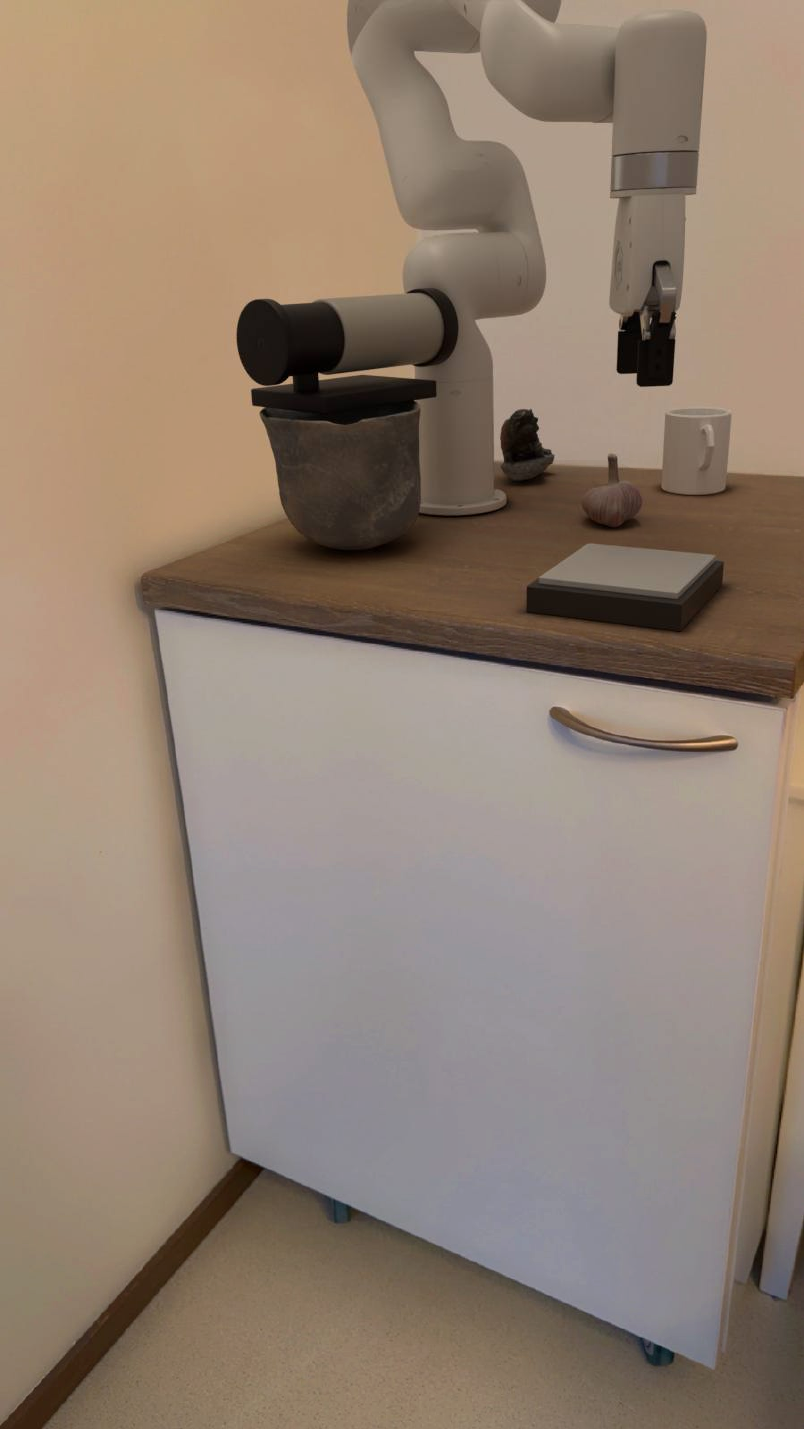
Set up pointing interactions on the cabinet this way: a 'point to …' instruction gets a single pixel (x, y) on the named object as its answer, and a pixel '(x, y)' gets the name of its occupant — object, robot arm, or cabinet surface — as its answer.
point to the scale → (628, 586)
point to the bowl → (348, 472)
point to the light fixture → (344, 349)
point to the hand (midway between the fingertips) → (643, 379)
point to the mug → (696, 450)
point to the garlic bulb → (612, 499)
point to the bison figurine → (523, 447)
